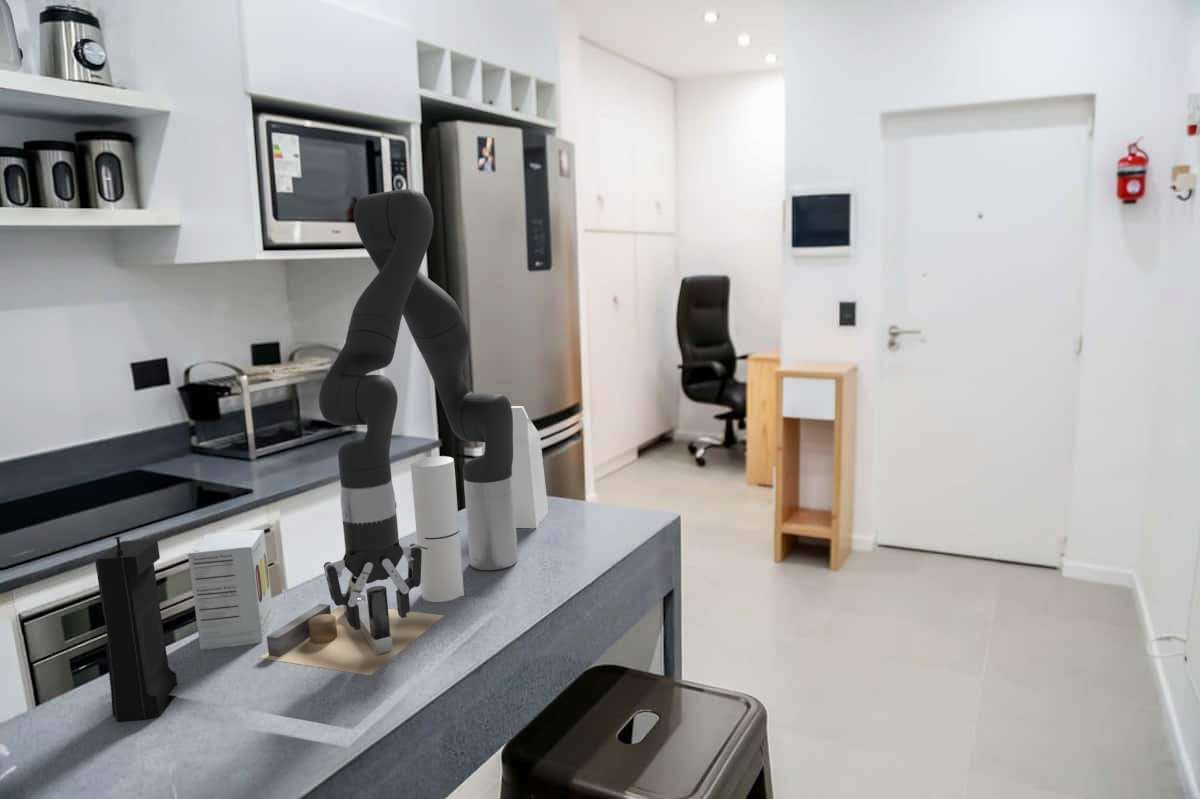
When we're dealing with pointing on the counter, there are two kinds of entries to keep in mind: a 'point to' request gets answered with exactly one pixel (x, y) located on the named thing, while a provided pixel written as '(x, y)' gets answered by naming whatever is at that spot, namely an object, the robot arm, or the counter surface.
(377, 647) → the lever
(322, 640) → the nut
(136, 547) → the portable radio
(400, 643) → the nutcracker board
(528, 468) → the milk
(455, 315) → the robot arm
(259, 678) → the counter surface
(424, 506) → the cylindrical container
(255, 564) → the supplement box
